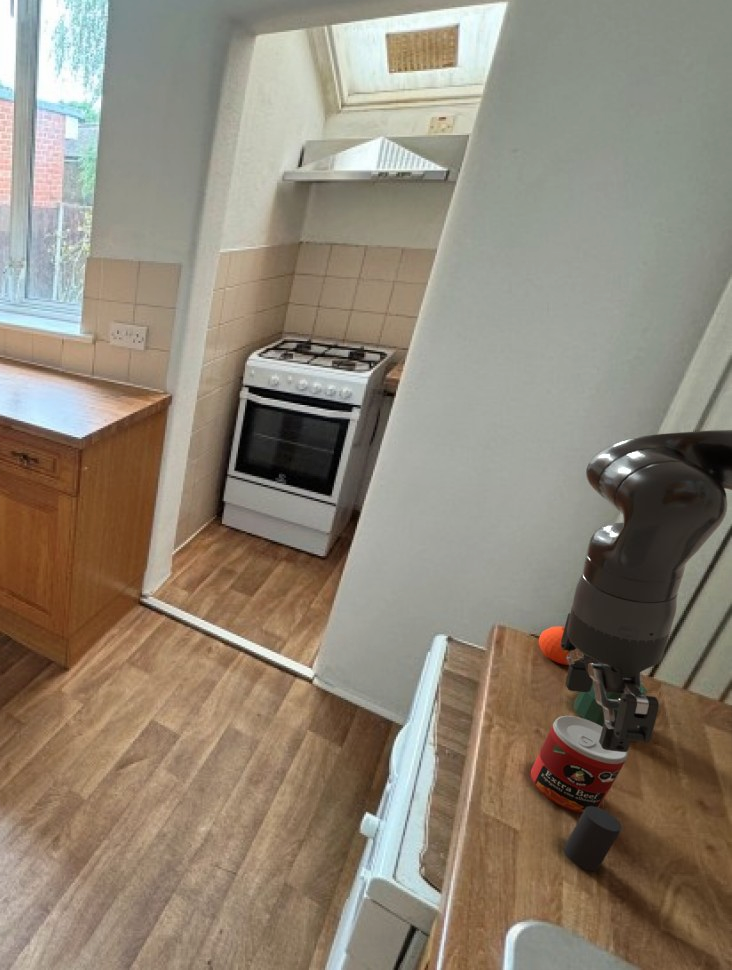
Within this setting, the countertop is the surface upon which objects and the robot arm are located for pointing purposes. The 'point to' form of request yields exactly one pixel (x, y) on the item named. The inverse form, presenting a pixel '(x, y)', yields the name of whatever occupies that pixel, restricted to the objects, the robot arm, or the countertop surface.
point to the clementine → (553, 644)
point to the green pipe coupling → (595, 705)
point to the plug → (592, 838)
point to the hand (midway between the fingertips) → (594, 717)
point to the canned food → (575, 765)
